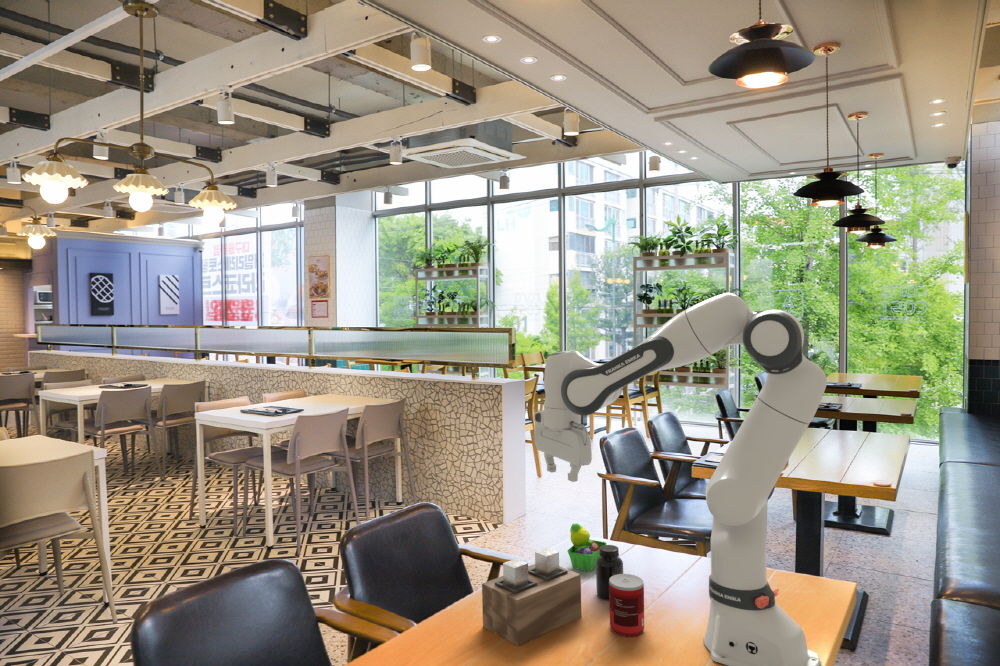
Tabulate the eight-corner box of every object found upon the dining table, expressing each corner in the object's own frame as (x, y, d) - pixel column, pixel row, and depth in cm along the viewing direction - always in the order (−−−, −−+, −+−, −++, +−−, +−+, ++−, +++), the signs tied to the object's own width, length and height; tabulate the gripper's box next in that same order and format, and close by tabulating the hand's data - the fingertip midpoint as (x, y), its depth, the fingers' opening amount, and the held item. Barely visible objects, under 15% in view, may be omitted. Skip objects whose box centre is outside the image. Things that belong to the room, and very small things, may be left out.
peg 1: (528, 602, 149) (527, 563, 149) (515, 608, 147) (514, 568, 146) (516, 597, 152) (516, 558, 152) (503, 602, 150) (502, 563, 149)
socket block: (581, 616, 155) (580, 571, 155) (518, 646, 142) (517, 597, 142) (545, 600, 164) (544, 558, 164) (482, 626, 151) (481, 580, 151)
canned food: (631, 618, 154) (631, 571, 153) (651, 633, 146) (651, 584, 146) (603, 624, 151) (602, 576, 151) (621, 640, 143) (620, 590, 143)
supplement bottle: (622, 589, 169) (622, 543, 169) (625, 601, 163) (624, 553, 162) (595, 589, 170) (594, 542, 170) (596, 600, 163) (596, 552, 163)
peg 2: (559, 589, 156) (558, 552, 156) (547, 594, 153) (546, 556, 153) (547, 584, 159) (546, 547, 159) (535, 589, 156) (534, 551, 156)
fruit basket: (592, 574, 180) (591, 532, 180) (562, 568, 185) (561, 528, 184) (608, 560, 190) (607, 521, 189) (579, 554, 194) (579, 516, 194)
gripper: (598, 424, 149) (598, 485, 149) (551, 411, 167) (551, 465, 168) (575, 426, 146) (574, 488, 147) (530, 413, 164) (529, 468, 165)
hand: (561, 476), depth 157 cm, fingers open, 8 cm apart
